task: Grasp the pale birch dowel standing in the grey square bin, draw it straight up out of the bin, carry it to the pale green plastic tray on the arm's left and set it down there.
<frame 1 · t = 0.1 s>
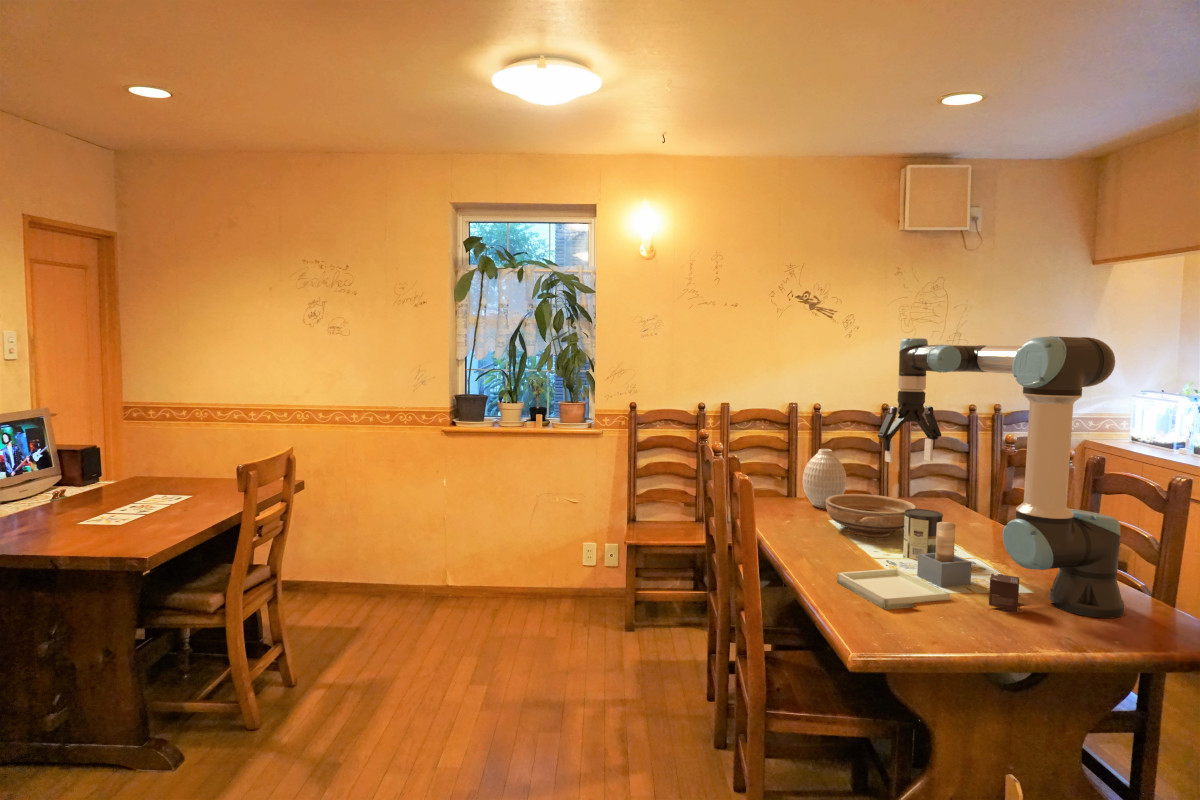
hand: (908, 461, 216), 28 cm above the table, fingers open, 13 cm apart
coffee can: (921, 560, 212), on the table
ceramic bowl: (869, 532, 243), on the table
dowel: (943, 580, 190), point 1 cm above the table, touching grey square bin
grey square bin: (943, 583, 190), on the table
box: (1003, 608, 173), on the table
vase: (823, 506, 281), on the table
tray: (890, 592, 183), on the table
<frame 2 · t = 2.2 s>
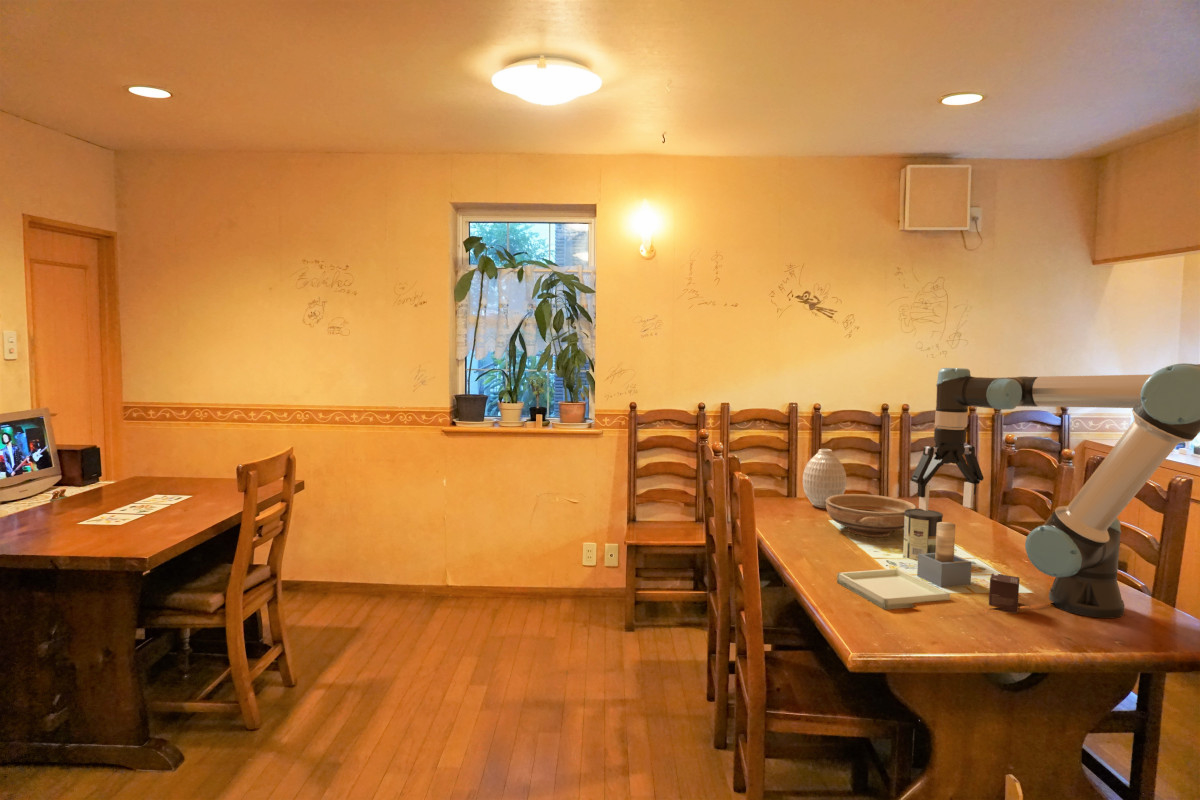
hand: (945, 508, 189), 20 cm above the table, fingers open, 13 cm apart
nothing on the table moved.
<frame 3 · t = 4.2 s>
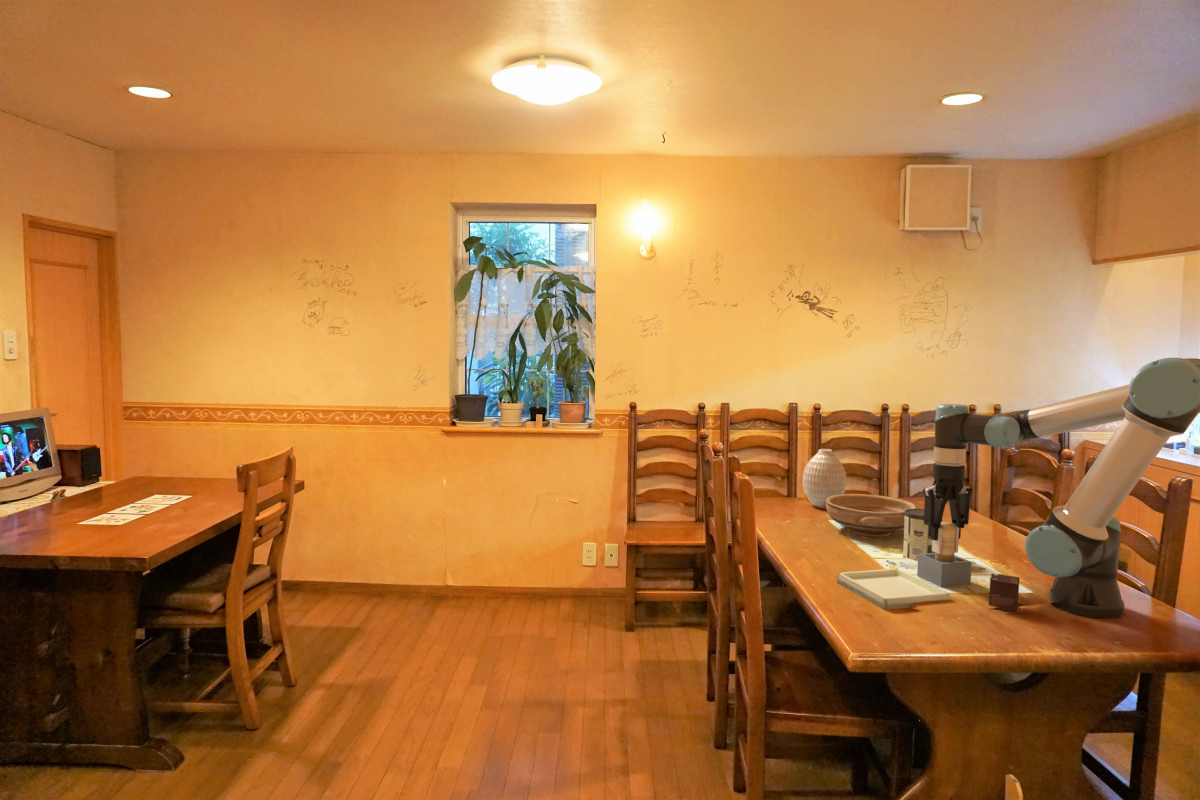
hand: (944, 551, 189), 9 cm above the table, fingers closed on dowel, 4 cm apart
dowel: (943, 580, 190), point 1 cm above the table, touching grey square bin, gripper
everything else where it was.
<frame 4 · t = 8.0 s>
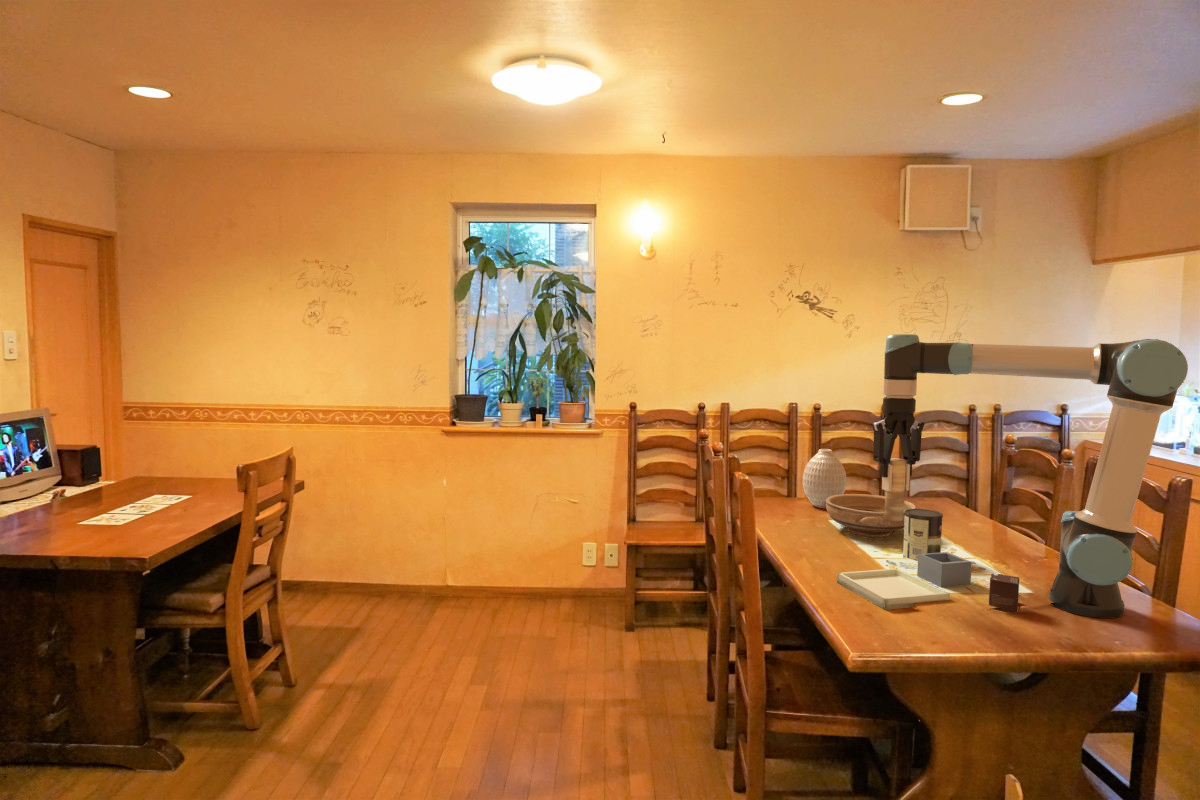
hand: (895, 489, 181), 26 cm above the table, fingers closed on dowel, 4 cm apart
dowel: (893, 518, 181), point 19 cm above the table, touching gripper
everything else where it was.
when the fingers open (10 cm above the table, at t = 11.7 s): dowel drops 2 cm, resting on tray.
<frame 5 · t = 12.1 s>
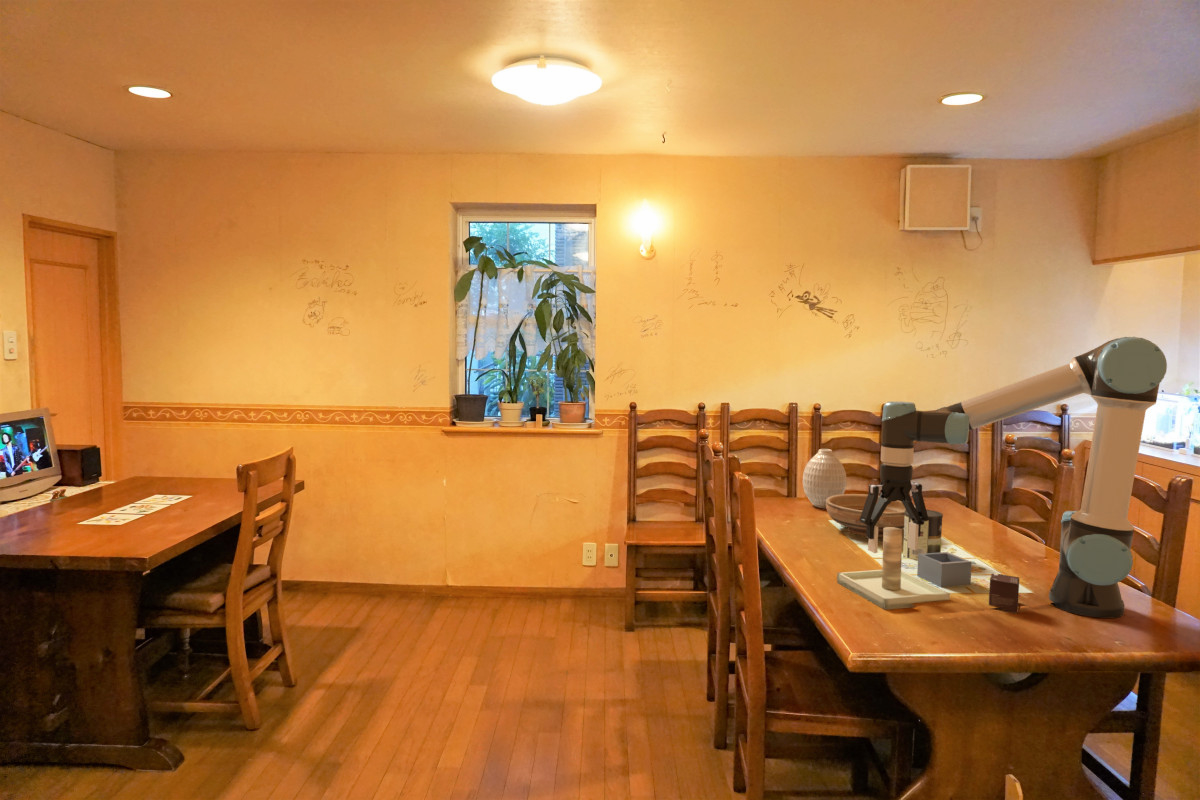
hand: (892, 550, 182), 11 cm above the table, fingers open, 11 cm apart
dowel: (891, 587, 183), point 1 cm above the table, touching tray
everything else where it was.
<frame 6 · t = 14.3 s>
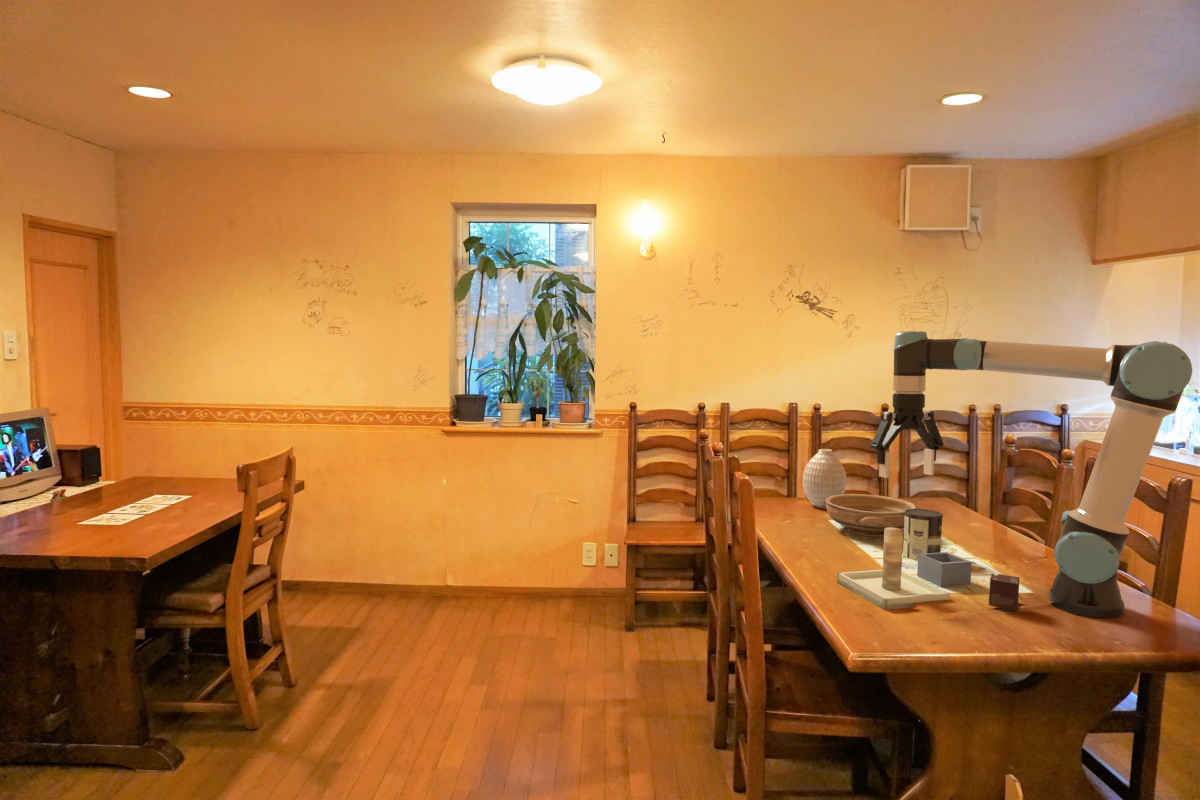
hand: (906, 475, 184), 29 cm above the table, fingers open, 13 cm apart
nothing on the table moved.
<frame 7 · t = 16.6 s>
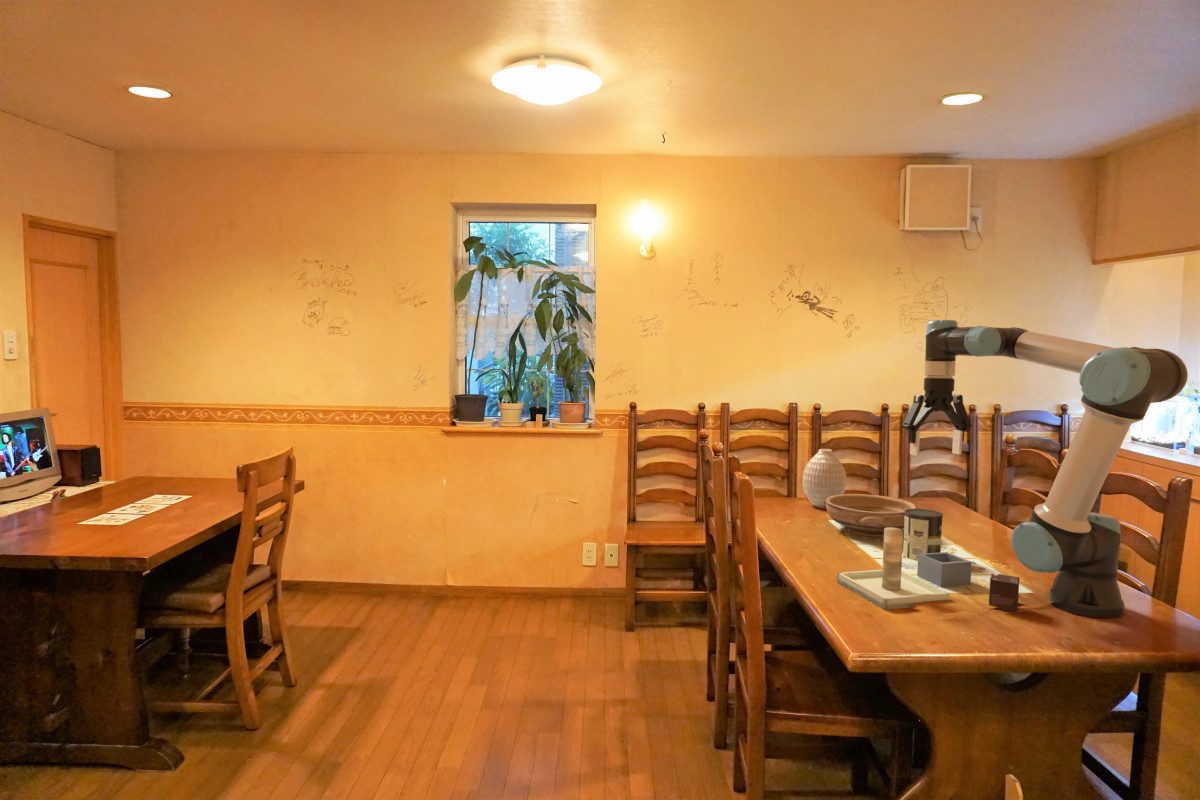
hand: (935, 454, 198), 33 cm above the table, fingers open, 13 cm apart
nothing on the table moved.
at the end: dowel inside the target area on the tray (0.0 cm from its centre), point 1.2 cm above the tray's base; the gripper is holding nothing; dowel touching tray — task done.
